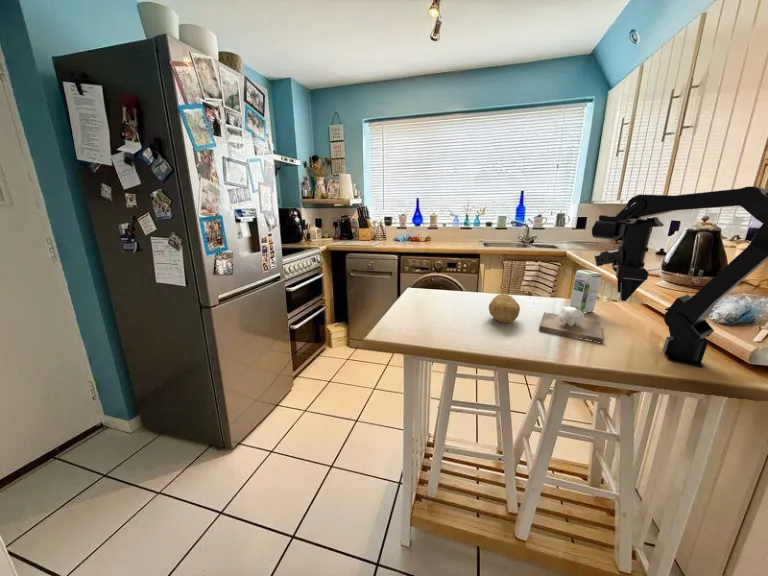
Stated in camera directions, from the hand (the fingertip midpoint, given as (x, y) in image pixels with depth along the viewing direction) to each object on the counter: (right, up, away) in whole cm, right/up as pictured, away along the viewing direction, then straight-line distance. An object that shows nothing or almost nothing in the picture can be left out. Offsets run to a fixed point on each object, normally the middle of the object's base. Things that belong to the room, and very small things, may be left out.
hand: (621, 296), depth 88 cm
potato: (-29, -9, +13) cm, 33 cm away
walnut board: (-10, -10, +7) cm, 16 cm away
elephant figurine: (-11, -9, +7) cm, 16 cm away
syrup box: (+3, -6, +23) cm, 24 cm away
